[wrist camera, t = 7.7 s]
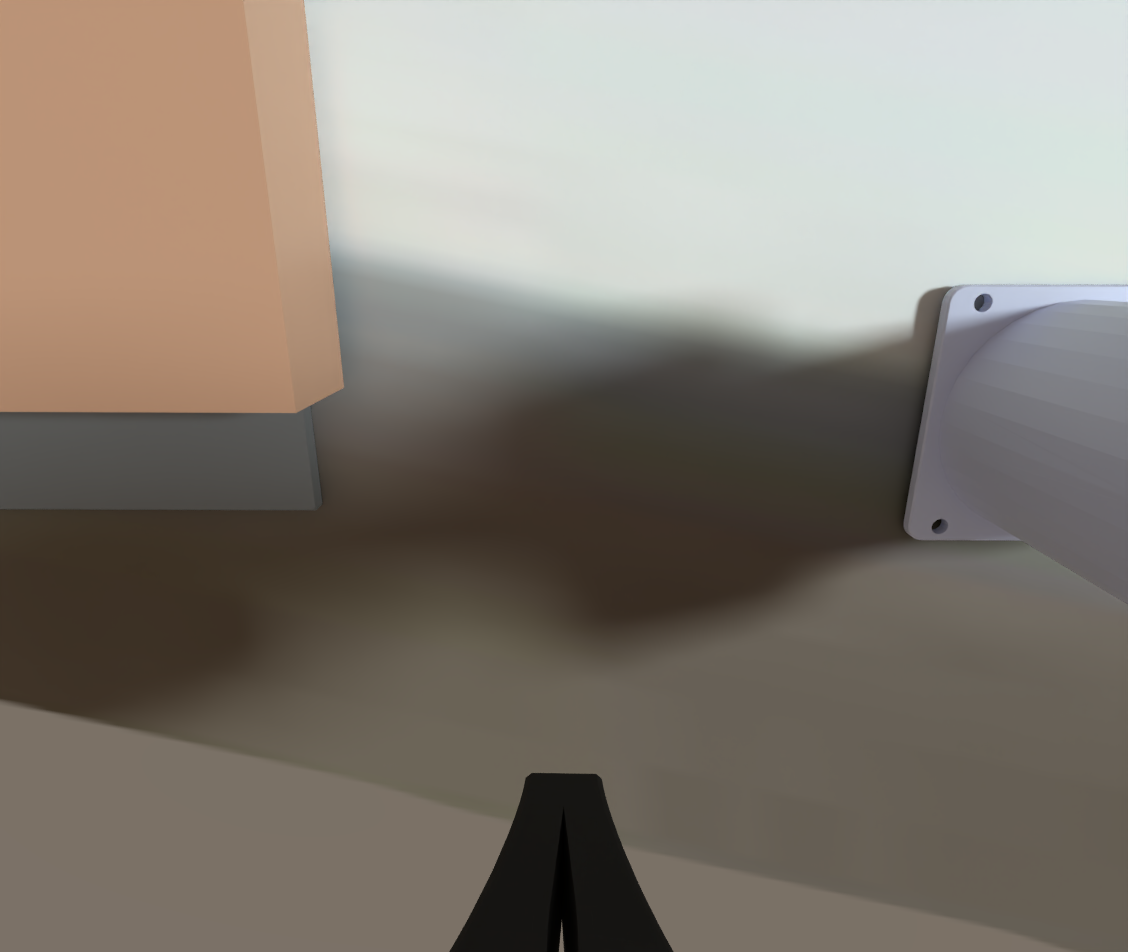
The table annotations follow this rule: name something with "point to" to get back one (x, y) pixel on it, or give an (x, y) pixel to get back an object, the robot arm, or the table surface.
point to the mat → (158, 461)
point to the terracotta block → (162, 209)
